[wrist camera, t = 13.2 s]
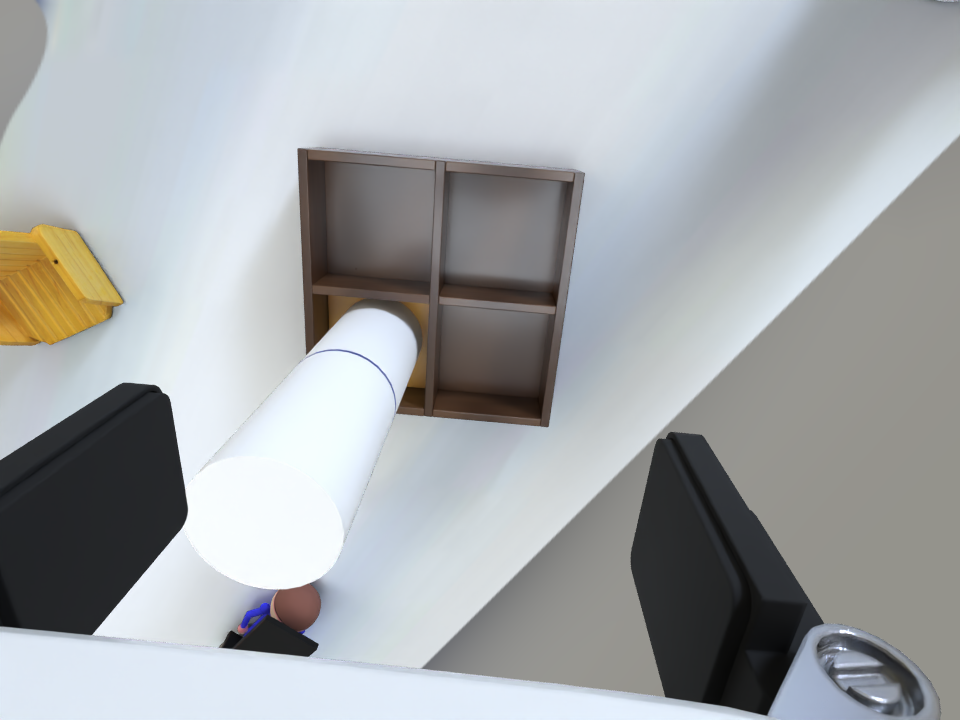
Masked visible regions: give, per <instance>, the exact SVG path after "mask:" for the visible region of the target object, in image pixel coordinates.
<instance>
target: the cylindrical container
mask: <svg viewBox="0 0 960 720" xmlns="http://www.w3.org/2000/svg"><path fill="white" fill-rule="evenodd" d="M422 341H423V338H422V330H421V327H420V324H419V322H418V320H417V318H416V316H415V315H414V314H413V313H412V312H411V310H410V309H409V308H407V307H406V306H405V305H404V304H402V303H400V302H398V301H390V300H379V299H367V298H366V299H363V300H361V301H359V302H357V303H355V304H354V305H353V306H352V307H350V308H349V310H348V311H347V312H346V313H345V314H344V315H343V316H342V317H341V318H340V319H339V320H338V322H337V323H336V324H335V325H334V326H333V327H332V328H331V329H330V330H329V331H328V332H327V334H326V335H325V336H324V337H323V338H322V339H321V340H320V341H319V342H318V343H317V344H316V345H315V346H314V347H313V349H312V350H311V351H310V352H309V353H308V354H307V355H306V356H305V357H304V358H303V359H302V360H301V361H300V363H299V364H298V365H297V366H296V367H295V368H294V369H293V370H292V371H291V372H290V373H289V375H288V376H287V377H286V378H285V379H284V380H283V381H282V382H281V383H280V384H279V385H278V387H277V388H276V389H275V390H274V391H273V392H272V393H271V394H270V395H269V396H268V397H267V399H266V400H265V401H264V402H263V403H262V404H261V405H260V406H259V407H258V408H257V409H256V410H255V412H254V413H253V414H252V415H251V416H250V417H249V418H248V419H247V420H246V421H245V422H244V423H243V424H242V426H241V427H240V428H239V429H238V430H237V431H236V432H235V433H234V434H233V435H232V436H231V437H230V438H229V440H228V441H227V442H226V443H225V444H224V445H223V446H222V447H221V448H220V449H219V450H218V451H217V452H216V454H215V455H214V456H213V457H212V458H211V459H210V460H209V461H208V462H207V463H206V464H205V465H204V466H203V468H202V469H201V470H200V471H199V472H198V473H197V474H196V475H195V476H194V478H193V479H192V480H191V482H190V483H189V484H188V486H187V488H186V490H185V492H186V498H187V504H188V515H187V519H186V522H185V524H184V526H183V527H184V530H185V533H186V535H187V537H188V539H189V541H190V543H191V544H192V546H193V548H194V549H195V550H196V551H197V553H198V554H199V555H200V556H201V557H202V559H203V560H205V561H206V562H207V563H208V564H209V565H210V566H212V567H213V568H214V569H215V570H217V571H218V572H220V573H222V574H223V575H225V576H227V577H228V578H230V579H233V580H235V581H237V582H240V583H242V584H246V585H249V586H252V587H257V588H264V589H290V588H295V587H301V586H303V585H306V584H308V583H311V582H314V581H315V580H317V579H318V578H320V577H321V576H323V575H324V574H326V573H327V572H328V570H329V569H330V568H331V567H332V566H333V565H334V564H335V562H336V560H337V559H338V557H339V555H340V553H341V550H342V548H343V545H344V543H345V540H346V538H347V535H348V533H349V530H350V528H351V525H352V523H353V520H354V518H355V515H356V513H357V510H358V507H359V505H360V502H361V500H362V497H363V495H364V492H365V490H366V487H367V485H368V482H369V480H370V477H371V475H372V472H373V470H374V467H375V465H376V462H377V460H378V457H379V455H380V452H381V449H382V447H383V444H384V442H385V439H386V437H387V434H388V432H389V429H390V427H391V424H392V422H393V419H394V417H395V414H396V412H397V409H398V407H399V404H400V402H401V399H402V397H403V394H404V391H405V389H406V386H407V384H408V381H409V379H410V376H411V374H412V371H413V369H414V366H415V364H416V361H417V359H418V356H419V354H420V351H421V348H422Z"/></svg>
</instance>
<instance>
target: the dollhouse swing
mask: <svg viewBox="0 0 960 720" xmlns="http://www.w3.org/2000/svg"><path fill="white" fill-rule="evenodd" d="M121 304H123V301H122V299H121V297H120V296H119V294H118V293H117V291H116V290H115V288H114V287H113V285H112V284H111V282H110V281H109V279H108V278H107V276H106V275H105V273H104V272H103V270H102V269H101V267H100V265H99V264H98V262H97V261H96V259H95V258H94V256H93V255H92V254H91V252H90V250H89V249H88V248H87V246H86V245H85V243H84V242H83V240H82V239H81V237H80V236H79V234H78V233H77V232H76V231H72V230H67V229H63V228H58V227H54V226H49V225H45V224H40V225H38V226H36V227H34V228H32V230H31V232H30V233H23V232H12V231H1V230H0V345H28V346H31V345H36V344H38V343H40V341H43V342H46V343H48V344H49V345H52V344H54V343H56V342H58V341H61V340H63V339H65V338H68V337H70V336H72V335H74V334H76V333H78V332H81V331H83V330H85V329H87V328H90V327H92V326H94V325H96V324H98V323H101V322H103V321H105V320H107V319H109V318H111V315H112V306H119V305H121Z"/></svg>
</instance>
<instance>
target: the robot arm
mask: <svg viewBox="0 0 960 720" xmlns="http://www.w3.org/2000/svg"><path fill="white" fill-rule="evenodd" d="M937 1H942V2H953V1H960V0H937ZM187 515H188V504H187V498H186V492H185V486H184V480H183V474H182V468H181V462H180V456H179V450H178V444H177V438H176V432H175V426H174V420H173V414H172V408H171V402H170V399H169V397H168V395H166V394H164V393H162V391H161V389H160V388H159V387H158V386H156V385H147V384H135V383H122V384H120V385H118V386H116V387H115V388H113V389H112V390H110V391H108V392H107V393H105V394H104V395H102V396H101V397H99V398H97V399H96V400H94V401H93V402H91V403H90V404H88V405H86V406H85V407H83V408H82V409H80V410H79V411H77V412H75V413H74V414H72V415H71V416H69V417H68V418H66V419H64V420H63V421H61V422H60V423H58V424H57V425H55V426H53V427H52V428H50V429H49V430H47V431H46V432H44V433H42V434H41V435H39V436H38V437H36V438H35V439H33V440H31V441H30V442H28V443H27V444H25V445H24V446H22V447H20V448H19V449H17V450H16V451H14V452H13V453H11V454H9V455H8V456H6V457H5V458H3V459H2V460H0V720H940V717H941V708H940V699H939V697H938V695H937V693H936V691H935V689H934V687H933V685H932V683H931V681H930V680H929V679H928V678H927V677H926V675H925V674H924V673H923V672H922V671H921V670H920V668H919V667H918V666H917V665H916V664H915V663H914V662H913V661H911V660H910V659H909V658H908V657H907V656H905V655H904V654H903V653H902V652H901V651H900V650H898V649H897V648H895V647H893V646H892V645H890V644H888V643H887V642H885V641H884V640H882V639H880V638H879V637H877V636H874V635H872V634H870V633H867V632H865V631H863V630H860V629H858V628H854V627H850V626H846V625H842V624H824V623H823V621H822V619H821V618H820V616H819V614H818V613H817V611H816V610H815V608H814V607H813V605H812V603H811V602H810V600H809V599H808V597H807V595H806V594H805V593H804V591H803V589H802V588H801V586H800V584H799V583H798V581H797V580H796V578H795V576H794V575H793V573H792V572H791V570H790V569H789V567H788V565H787V564H786V562H785V561H784V559H783V557H782V556H781V554H780V553H779V551H778V550H777V548H776V546H775V545H774V544H773V542H772V540H771V539H770V537H769V536H768V534H767V532H766V531H765V529H764V527H763V526H762V524H761V523H760V521H759V520H758V518H757V516H756V515H755V514H754V513H753V512H752V511H751V510H749V508H748V507H747V505H746V504H745V502H744V501H743V499H742V497H741V496H740V494H739V492H738V491H737V489H736V488H735V486H734V485H733V483H732V481H731V480H730V478H729V476H728V475H727V473H726V472H725V470H724V469H723V467H722V465H721V464H720V462H719V461H718V459H717V457H716V456H715V454H714V452H713V451H712V449H711V448H710V446H709V444H708V443H707V441H706V440H705V438H704V437H703V436H702V435H697V434H686V433H675V432H670V433H669V434H668V435H667V437H666V439H658V440H657V442H656V445H655V448H654V453H653V457H652V462H651V466H650V471H649V475H648V479H647V484H646V488H645V493H644V497H643V502H642V506H641V510H640V515H639V519H638V524H637V528H636V532H635V537H634V541H633V546H632V551H631V570H632V574H633V578H634V582H635V585H636V589H637V593H638V596H639V600H640V604H641V608H642V611H643V615H644V619H645V622H646V626H647V630H648V634H649V637H650V641H651V645H652V649H653V652H654V656H655V660H656V664H657V667H658V671H659V675H660V679H661V682H662V686H663V690H664V694H665V697H659V696H652V695H645V694H638V693H630V692H621V691H612V690H603V689H594V688H585V687H577V686H570V685H562V684H554V683H545V682H536V681H527V680H517V679H508V678H499V677H489V676H480V675H471V674H463V673H453V672H444V671H435V670H426V669H417V668H408V667H399V666H389V665H380V664H371V663H361V662H351V661H342V660H332V659H323V658H313V657H303V656H294V655H284V654H274V653H265V652H255V651H245V650H235V649H225V648H216V647H206V646H196V645H186V644H176V643H166V642H156V641H145V640H135V639H125V638H115V637H104V636H94V635H92V634H93V633H94V632H95V631H96V629H97V628H98V627H99V626H100V625H101V624H102V622H103V621H104V620H105V619H106V618H107V616H108V615H109V614H110V613H111V612H112V610H113V609H114V608H115V607H116V606H117V605H118V603H119V602H120V601H121V600H122V599H123V597H124V596H125V595H126V594H127V593H128V591H129V590H130V589H131V588H132V587H133V586H134V584H135V583H136V582H137V581H138V580H139V578H140V577H141V576H142V575H143V574H144V572H145V571H146V570H147V569H148V568H149V567H150V565H151V564H152V563H153V562H154V561H155V559H156V558H157V557H158V556H159V555H160V553H161V552H162V551H163V550H164V549H165V547H166V546H167V545H168V544H169V543H170V542H171V540H172V539H173V538H174V537H175V536H176V534H177V533H178V532H179V531H180V530H181V528H182V527H183V526H184V524H185V522H186V519H187Z"/></svg>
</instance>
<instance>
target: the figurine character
mask: <svg viewBox="0 0 960 720" xmlns="http://www.w3.org/2000/svg"><path fill="white" fill-rule="evenodd" d="M320 608H321V600H320V596H319V594H318V592H317V590H316V589H315V588H314V587H313V586H312V585H310V584H309V583H308V584H306V585H303V586H301V587H295V588H290V589H279V590H278V591H277V592H276V594H275V595H274V597H273V599H272V602H271V606H270V605H269V604H268V603H263V604H261V606H260V608H257V609H253V610H250V611H247V613H246V615H245V617H244V619H243V621H242V623H241V624H240V625H239V626H238V628H237V631H238V633H239V635H238V634H236V633H235V632H233V631H230V632H229V633H228V635H227V637H226V639H225V641H224V643H222V644H221V645H220V646H219V648H225V649H235V650H245V651H255V652H265V653H274V654H284V655H294V656H303V657H309V656H310V655H311V654H312V653H313V652H315V651H316V650H317V648H318V645H319V644H318V643H316V642H314V641H313V640H311V639H309V638H307V637H306V636H304V635H302V634H303V633H304V632H305V629H307V628H309V627H310V626H311V625H312V624H313V623H314V622H315V620H316V619H317V617H318V615H319V612H320ZM262 614H263V615H262ZM258 615H262V616H261V617H260V618H259V619H258V620H257V621H256V622H255V623H254V624H249V625H248V623H249V621H250V619H251V617H255V616H258ZM247 625H248V626H247Z"/></svg>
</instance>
